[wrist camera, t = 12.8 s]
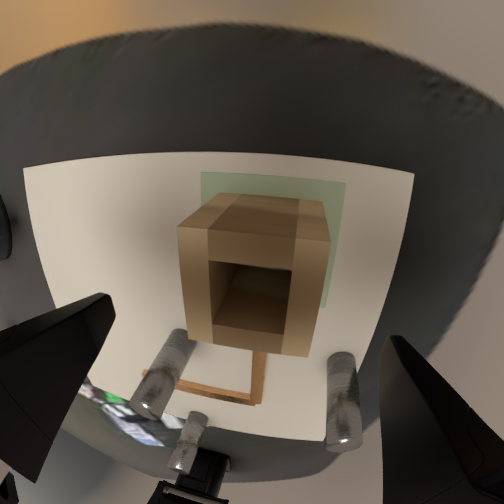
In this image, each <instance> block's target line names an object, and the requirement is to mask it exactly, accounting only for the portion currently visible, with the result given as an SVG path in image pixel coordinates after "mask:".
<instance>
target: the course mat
mask: <svg viewBox="0 0 504 504" xmlns="http://www.w3.org/2000/svg"><path fill="white" fill-rule="evenodd" d="M23 171H24V179H25V187H26V194H27V201H28V207H29V212H30V217H31V222H32V227H33V232H34V236H35V240H36V244H37V248H38V252H39V256H40V260H41V263H42V267H43V270H44V273H45V276H46V280H47V283H48V286H49V289H50V292H51V294H52V297H53V300H54V303H55V305H56V308H60V307H62V306H65V305H68V304H70V303H73V302H75V301H78V300H80V299H83V298H86V297H88V296H91V295H93V294H96V293H99V292H102V293H106V294H109V295H110V296H111V298H112V301H113V305H114V309H115V312H116V318H115V321H114V323H113V325H112V327H111V329H110V332H109V334H108V336H107V338H106V340H105V342H104V344H103V347H102V349H101V351H100V353H99V355H98V357H97V358H96V360H95V362H94V364H93V365H92V367H91V369H90V371H89V373H88V374H87V376H88V377H89V379H90V381H91V383H92V385H93V386H95V387H98V388H100V389H102V390H104V391H107V392H109V393H111V394H114V395H116V396H119V397H121V398H124V399H126V400H129V401H130V399H131V397H132V396H133V394H134V392H135V391H136V389H137V387H138V386H139V384H140V382H141V381H142V379H143V376H142V372H143V370H144V369H146V370H148V369H149V367H150V366H151V364H152V363H153V361H154V359H155V358H156V356H157V354H158V353H159V351H160V350H161V348H162V346H163V345H164V343H165V341H166V340H167V338H168V337H169V335H170V333H171V332H172V331H173V330H174V329H178V328H179V329H184V330H187V325H186V318H185V310H184V302H183V294H182V285H181V275H180V265H179V254H178V242H177V228H176V226H178V225H179V224H180V223H181V222H183V221H184V220H185V219H186V218H188V217H189V216H190V215H191V214H193V213H194V212H195V211H196V210H198V209H199V208H200V207H201V206H203V205H204V204H205V203H207V202H208V201H209V200H210V199H212V198H213V197H214V196H216V195H217V194H218V193H220V192H221V193H236V194H250V195H263V196H274V197H285V198H295V199H305V200H314V201H323V205H324V210H325V214H326V219H327V224H328V229H329V233H330V238H331V247H330V253H329V259H328V265H327V271H326V276H325V282H324V287H323V292H322V297H321V302H320V307H319V312H318V316H317V321H316V325H315V330H314V334H313V339H312V343H311V347H310V351H309V355H308V358H306V357H296V356H288V355H280V354H272V353H267V360H266V370H265V379H264V388H263V397H262V402H261V404H256V405H255V406H250V405H244V404H238V403H233V402H227V401H222V400H218V399H213V398H208V397H204V396H200V395H196V394H192V393H188V392H184V391H180V390H176V389H174V392H173V394H172V396H171V398H170V400H169V402H168V404H167V406H166V408H165V410H164V412H163V413H166V414H169V415H173V416H176V417H180V418H183V419H187V417H188V415H189V412H190V411H198V412H201V413H203V414H205V415H206V416H207V417H208V418H209V420H208V423H207V425H210V426H215V427H219V428H224V429H229V430H234V431H239V432H245V433H251V434H257V435H264V436H271V437H279V438H288V439H299V440H313V441H323V440H324V438H325V436H326V403H327V367H326V362H327V359H328V358H329V356H331V355H332V354H334V353H336V352H342V351H345V352H349V353H351V354H353V355H354V356H355V360H356V368H357V372H358V370H359V368H360V366H361V363H362V361H363V358H364V356H365V354H366V351H367V349H368V346H369V344H370V341H371V339H372V336H373V333H374V331H375V328H376V325H377V322H378V320H379V317H380V314H381V311H382V308H383V305H384V302H385V299H386V296H387V293H388V289H389V286H390V283H391V279H392V276H393V272H394V269H395V265H396V262H397V258H398V254H399V250H400V246H401V242H402V238H403V233H404V229H405V224H406V219H407V215H408V209H409V204H410V199H411V193H412V187H413V180H414V174H413V173H410V172H405V171H400V170H395V169H390V168H384V167H378V166H372V165H366V164H360V163H353V162H346V161H339V160H331V159H322V158H313V157H303V156H292V155H280V154H264V153H244V152H159V153H139V154H125V155H112V156H102V157H93V158H84V159H76V160H69V161H62V162H55V163H49V164H43V165H37V166H32V167H27V168H24V169H23ZM240 265H241V266H250V267H258V268H266V269H275V270H284V271H292V270H287V269H279V268H270V267H262V266H253V265H245V264H240ZM252 353H253V351H251V350H245V349H239V348H233V347H227V346H221V345H216V344H211V343H206V342H201V341H197V345H196V347H195V349H194V351H193V353H192V355H191V357H190V359H189V361H188V363H187V365H186V367H185V369H184V371H183V373H182V375H181V377H180V379H182V380H186V381H190V382H194V383H198V384H202V385H207V386H212V387H216V388H221V389H226V390H231V391H237V392H242V393H248V394H250V391H251V372H252Z"/></svg>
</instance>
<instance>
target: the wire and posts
mask: <svg viewBox="0 0 504 504" xmlns="http://www.w3.org/2000/svg"><path fill="white" fill-rule="evenodd" d="M196 345H197V341H196V340H191V339H188V333H187V330H184V329H179V328H178V329H174V330H173V331H172V332H171V333H170V335H169V337H168V338H167V340H166V341H165V343H164V345H163V346H162V348H161V350H160V351H159V353H158V354H157V356H156V358H155V359H154V361H153V363H152V364H151V366H150V367H149V369H148V370H146V369H144V370H143V372H142V376H143V379H142V381H141V382H140V384H139V386H138V387H137V389H136V391H135V392H134V394H133V396H132V397H131V399H130V401H129V404H130V406H131V407H132V408H133V409H134V410H135V411H136V412H137V413H139V414H140V415H142V416H144V417H146V418H149V419H152V420H159V419H160V418H161V416H162V414H163V412H164V410H165V408H166V406H167V404H168V402H169V400H170V398H171V396H172V394H173V392H174V389H176V390H180V391H184V392H188V393H192V394H196V395H200V396H204V397H208V398H213V399H218V400H222V401H227V402H233V403H238V404H244V405H250V406H255V405H256V404H261V402H262V397H263V388H264V379H265V370H266V360H267V353H265V352H258V351H253V353H252V372H251V391H250V394H248V393H242V392H237V391H231V390H226V389H221V388H216V387H212V386H207V385H202V384H198V383H194V382H190V381H186V380H182V379H180V377H181V375H182V373H183V371H184V369H185V367H186V365H187V363H188V361H189V359H190V357H191V355H192V353H193V351H194V349H195V347H196ZM326 367H327V403H326V439H325V448H326V449H327V450H328V451H331V452H347V451H352V450H355V449H357V448H359V447H360V446H361V445H362V443H363V442H362V423H361V409H360V397H359V386H358V377H357V368H356V360H355V356H354V355H353V354H351V353H349V352H345V351H342V352H336V353H334V354H332V355H331V356H329V358H328V359H327V362H326ZM208 420H209V418H208V417H207V416H206V415H205V414H203V413H201V412H198V411H190V412H189V415H188V417H187V420H186V422H185V424H184V427H183V429H182V432H181V434H180V436H179V439H178V441H177V443H176V446H175V448H174V451H173V453H172V455H171V458H170V460H169V462H168V465H167V467H168V468H170V469H172V470H174V471H176V472H178V473H182V474H189V472H190V469H191V467H192V464H193V461H194V458H195V456H196V453H197V450H198V447H199V445H200V442H201V439H202V436H203V434H204V431H205V428H206V425H207V423H208Z"/></svg>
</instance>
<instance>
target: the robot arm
mask: <svg viewBox="0 0 504 504" xmlns="http://www.w3.org/2000/svg"><path fill="white" fill-rule="evenodd" d="M115 318H116V312H115V309H114V305H113V301H112V298H111V296H110V295H109V294H106V293H102V292H99V293H96V294H93V295H91V296H88V297H86V298H83V299H80V300H78V301H75V302H73V303H70V304H68V305H65V306H62V307H60V308H57V309H55V310H52V311H50V312H47V313H45V314H42V315H40V316H37V317H35V318H32V319H30V320H27V321H25V322H22V323H20V324H18V325H15V326H12V327H10V328H7V329H5V330H2V331H0V504H18V502H19V499H18V495H17V491H16V486H15V481H14V476H13V474H11V473H10V471H9V470H10V468H13V469H14V470H15V471H17V472H18V473H20V474H21V475H22V476H24V477H25V478H27V479H28V480H30V481H31V482H33V483H36V481H37V479H38V476H39V474H40V472H41V469H42V467H43V464H44V462H45V460H46V457H47V455H48V452H49V450H50V448H51V446H52V444H53V441H54V439H55V437H56V435H57V433H58V430H59V428H60V426H61V424H62V422H63V420H64V418H65V416H66V414H67V412H68V410H69V408H70V406H71V404H72V402H73V400H74V398H75V397H76V395H77V393H78V391H79V389H80V387H81V385H82V383H83V382H84V380H85V378H86V376H87V374H88V373H89V371H90V369H91V367H92V365H93V364H94V362H95V360H96V358H97V357H98V355H99V353H100V351H101V349H102V347H103V344H104V342H105V340H106V338H107V336H108V334H109V332H110V329H111V327H112V325H113V323H114V321H115ZM379 412H380V423H381V437H382V457H383V504H504V441H503V440H502V439H501V438H500V437H499V436H498V435H497V434H496V433H495V432H494V431H493V430H492V429H491V428H490V427H489V426H488V425H487V424H486V423H485V422H484V421H483V420H482V419H481V418H480V417H479V416H478V415H477V414H476V412H475V411H474V410H473V409H472V408H471V407H470V408H469V405H468V404H467V403H466V402H465V400H464V399H463V398H462V397H461V396H460V395H459V394H458V393H457V392H456V391H455V390H454V389H453V388H452V387H451V385H450V384H449V383H448V382H447V381H446V380H445V379H444V378H443V377H442V376H441V375H440V374H439V373H438V372H437V371H436V370H435V369H434V368H433V367H432V366H431V365H430V364H429V363H428V362H427V361H426V360H425V359H424V358H423V357H422V356H421V355H420V354H419V353H418V352H417V351H416V350H415V349H414V348H413V347H412V346H411V345H410V344H409V343H408V342H407V341H406V340H405V339H404V338H403V337H402V336H399V335H390V336H388V337H387V339H386V341H385V344H384V346H383V348H382V351H381V353H380V356H379ZM230 471H231V465H230V457H229V456H226V455H221V454H217V453H212V452H208V451H204V450H200V449H198V450H197V453H196V456H195V458H194V461H193V464H192V467H191V469H190V472H189V474H182V473H179V475H178V478H177V480H176V483H175V485H174V484H171V483H168V482H167V481H165V480H163V481H159V483H158V485H157V488H156V490H155V491H154V493H153V495H152V496H151V498H150V500H149V501H148V503H147V504H204V503H206V504H228V502H229V500H226V499H225V500H224V499H220V498H217V497H218V494H219V491H220V487H221V484H222V481H223V477H224V474H225V472H230ZM167 491H168V492H169V493H168V494H167ZM170 492H171V493H170ZM172 493H174V494H172ZM175 494H177V495H175ZM178 495H180V496H178ZM181 496H183V497H181ZM184 497H186V498H184ZM187 498H189V499H187ZM190 499H192V500H190ZM193 500H196V501H193ZM197 501H199V502H197ZM200 502H202V503H200Z"/></svg>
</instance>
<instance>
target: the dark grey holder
mask: <svg viewBox="0 0 504 504" xmlns="http://www.w3.org/2000/svg"><path fill="white" fill-rule="evenodd" d="M11 251H12V233H11V227H10V222H9V218H8V214H7V211H6V207H5V205H4V202H3V200H2V197H1V195H0V261H2V260H5V259H8V258H9V256H10V255H11Z"/></svg>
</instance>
